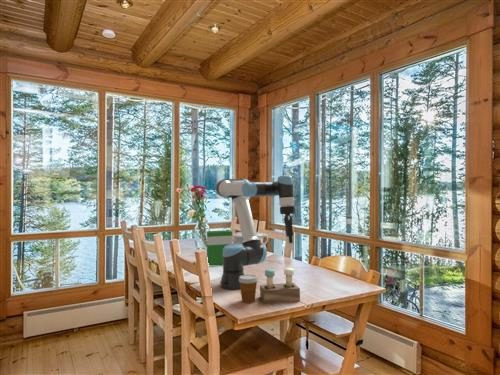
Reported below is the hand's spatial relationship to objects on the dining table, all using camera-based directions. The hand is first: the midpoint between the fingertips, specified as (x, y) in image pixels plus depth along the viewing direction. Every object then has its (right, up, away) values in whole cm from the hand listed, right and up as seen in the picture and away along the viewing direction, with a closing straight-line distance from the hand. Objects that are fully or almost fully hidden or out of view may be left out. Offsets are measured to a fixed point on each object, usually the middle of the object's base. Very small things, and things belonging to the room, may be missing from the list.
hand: (290, 248), depth 172 cm
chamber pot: (-22, -25, +112) cm, 117 cm away
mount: (-5, -25, +1) cm, 26 cm away
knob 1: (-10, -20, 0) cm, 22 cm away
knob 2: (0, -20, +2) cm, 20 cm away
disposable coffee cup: (-21, -26, -2) cm, 33 cm away
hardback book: (-42, -26, +77) cm, 92 cm away
